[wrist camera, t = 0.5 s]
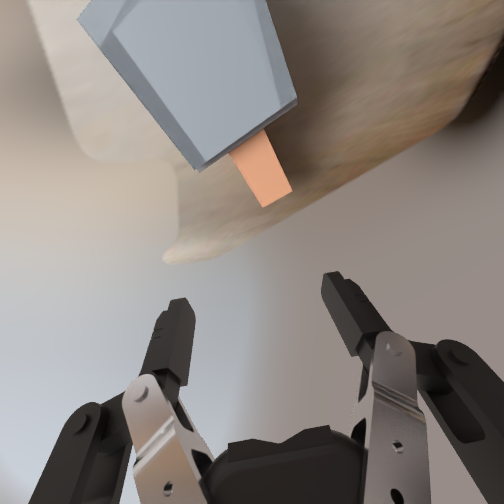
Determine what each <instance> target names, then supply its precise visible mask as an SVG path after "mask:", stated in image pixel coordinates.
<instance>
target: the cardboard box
mask: <svg viewBox="0 0 504 504" xmlns="http://www.w3.org/2000/svg"><path fill="white" fill-rule="evenodd" d="M228 153H229V154H230V155H231V157H232V159H233V160H234V162H235V164H236V165H237V167H238V168H239V170H240V172H241V173H242V175H243V176H244V178H245V180H246V181H247V183H248V185H249V186H250V188H251V189H252V191H253V193H254V194H255V196H256V197H257V199H258V201H259V202H260V204H261V205H262V207H265V206H267V205H268V204H270V203H272V202H274V201H275V200H277V199H279V198H281V197H283V196H284V195H286V194H288V193H290V192H291V191H292V189H291V187H290V185H289V183H288V180H287V178H286V176H285V174H284V172H283V170H282V167H281V165H280V163H279V161H278V159H277V157H276V154H275V152H274V150H273V148H272V146H271V144H270V141H269V139H268V137H267V135H266V133H265V131H264V128H263V129H261V130H260V131H258V132H257V133H256V134H254V135H253V136H251V137H250V138H248V139H247V140H246V141H244V142H243V143H241V144H240V145H238V146H237V147H236V148H234V149H233V150H231V151H230V152H228Z"/></svg>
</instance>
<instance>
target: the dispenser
mask: <svg viewBox="0 0 504 504" xmlns="http://www.w3.org/2000/svg"><path fill="white" fill-rule="evenodd" d="M76 20H77V21H78V22H79V23H80V25H81V26H82V27H83V28H84V30H85V31H86V32H87V34H88V35H89V36H90V37H91V39H92V40H93V41H94V42H95V44H96V45H97V46H98V48H99V49H100V50H101V51H102V53H103V54H104V55H105V57H106V58H107V59H108V60H109V62H110V63H111V64H112V65H113V67H114V68H115V69H116V71H117V72H118V73H119V74H120V76H121V77H122V78H123V79H124V81H125V82H126V83H127V85H128V86H129V87H130V88H131V90H132V91H133V92H134V93H135V95H136V96H137V97H138V99H139V100H140V101H141V102H142V104H143V105H144V106H145V108H146V109H147V110H148V111H149V113H150V114H151V115H152V116H153V118H154V119H155V120H156V122H157V123H158V124H159V125H160V127H161V128H162V129H163V130H164V132H165V133H166V134H167V136H168V137H169V138H170V139H171V141H172V142H173V143H174V145H175V146H176V147H177V148H178V150H179V151H180V152H181V153H182V155H183V156H184V157H185V159H186V160H187V161H188V162H189V164H190V165H191V166H192V167H193V169H194V170H195V169H197V170H198V172H199V173H200V172H201V171H203V170H204V169H206V168H207V167H208V166H210V165H211V164H213V163H214V162H216V161H217V160H218V159H220V158H221V157H223V156H224V155H226V154H227V153H228V152H230V151H231V150H233V149H234V148H236V147H237V146H238V145H240V144H241V143H243V142H244V141H246V140H247V139H248V138H250V137H251V136H253V135H254V134H256V133H257V132H258V131H260V130H261V129H263V128H264V127H266V126H267V125H268V124H270V123H271V122H273V121H274V120H276V119H277V118H278V117H280V116H281V115H283V114H284V113H286V112H287V111H288V110H290V109H291V108H293V107H294V106H296V105H297V104H298V101H297V95H296V92H295V89H294V86H293V83H292V80H291V77H290V74H289V71H288V68H287V64H286V61H285V58H284V55H283V52H282V49H281V46H280V43H279V40H278V37H277V34H276V31H275V27H274V24H273V21H272V18H271V15H270V12H269V9H268V6H267V3H266V0H91V1H90V3H89V4H88V5H87V6H86V8H85V9H84V10H83V12H82V13H81V14H80V16H79V17H78V18H77V19H76Z"/></svg>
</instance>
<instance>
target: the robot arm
mask: <svg viewBox="0 0 504 504" xmlns="http://www.w3.org/2000/svg"><path fill="white" fill-rule="evenodd" d="M321 295H322V298H323V301H324V303H325V305H326V307H327V309H328V311H329V313H330V315H331V317H332V319H333V321H334V323H335V325H336V327H337V329H338V331H339V333H340V335H341V337H342V339H343V341H344V343H345V345H346V346H347V349H348V351H349V353H350V355H351V356H352V357H353V356H359V357H360V359H361V361H362V363H361V369H360V376H359V383H358V389H357V396H356V402H355V406H354V409H353V412H352V417H351V422H350V428H349V435H348V436H346V435H344V434H342V433H340V432H337V431H334V430H331V429H330V426H329V425H326V426H320V427H315V428H309V429H305V430H302V431H301V432H299V433H298V434H296V435H294V436H293V437H291V438H289V439H288V440H286V441H284V442H283V443H278V444H277V443H273V442H267V441H262V440H257V439H249V440H243V441H238V442H233V443H228V449H227V450H225V451H224V452H223V453H222V454H220V455H219V456H218V457H217V458H216V459H214V457H213V455H212V453H211V452H210V450H209V448H208V446H207V444H206V443H205V441H204V440H203V438H202V437H201V436H200V435H199V433H198V432H197V430H196V428H195V426H194V424H193V422H192V421H191V419H190V417H189V415H188V413H187V411H186V409H185V407H184V405H183V403H182V401H181V400H180V398H179V396H178V395H179V388H180V387H181V386H187V384H188V376H189V368H190V361H191V353H192V346H193V338H194V330H195V322H196V320H195V314H194V311H193V309H192V308H191V306H190V304H189V302H188V300H187V299H186V298H179V299H174V300H171V301H170V304H169V307H168V310H167V311H163V312H162V313H161V315H160V316H159V318H158V319H157V321H156V324H155V327H154V332H153V334H152V337H151V340H150V343H149V346H148V350H147V353H146V356H145V359H144V363H143V366H142V369H141V372H140V374H139V376H138V377H137V378H136V379H135V380H134V381H133V382H132V383H131V384H130V385H129V386H128V388H127V389H126V391H125V392H123V393H121V394H119V395H117V396H116V397H114V398H112V399H110V400H108V401H106V402H104V403H102V404H101V405H100V404H98V403H95V402H89V403H86V404H85V405H83V406H81V407H80V408H78V409H77V410H76V411H75V412H74V413H73V414H72V415H71V416H70V417H69V419H68V420H67V422H66V423H65V425H64V427H63V429H62V431H61V433H60V435H59V437H58V439H57V442H56V444H55V446H54V448H53V450H52V453H51V455H50V457H49V459H48V461H47V464H46V466H45V468H44V470H43V472H42V475H41V477H40V479H39V482H38V484H37V486H36V488H35V490H34V492H33V494H32V497H31V499H30V501H29V503H28V504H119V502H120V497H121V493H122V489H123V485H124V480H125V476H126V471H127V466H128V463H129V458H130V453H131V450H132V445H134V448H135V451H136V456H137V458H136V462H135V463H134V466H133V475H134V480H135V484H136V487H137V491H138V495H139V499H140V502H141V504H431V491H430V475H429V459H428V443H427V427H426V419H425V416H424V414H423V412H422V411H421V410H420V409H419V407H418V403H417V390H418V391H419V393H420V394H421V396H422V397H423V399H424V401H425V402H426V404H427V406H428V407H429V409H430V410H431V412H432V414H433V415H434V417H435V418H436V420H437V422H438V423H439V425H440V427H441V428H442V430H443V432H444V433H445V435H446V436H447V438H448V440H449V441H450V443H451V444H452V446H453V448H454V449H455V451H456V453H457V454H458V456H459V457H460V459H461V460H462V462H463V464H464V466H465V467H466V469H467V470H468V472H469V474H470V475H471V477H472V478H473V480H474V482H475V483H476V485H477V487H478V488H479V490H480V491H481V493H482V495H483V496H484V498H485V500H486V501H487V503H488V504H504V382H503V381H502V380H501V379H500V378H499V377H498V376H497V375H496V373H495V372H494V371H493V370H492V369H491V368H490V367H489V366H488V365H487V364H486V363H485V362H484V361H483V360H482V359H481V357H479V356H478V354H477V353H476V352H475V351H473V350H472V349H470V348H469V347H468V346H466V345H464V344H462V343H460V342H458V341H454V340H447V339H446V340H442V341H440V342H438V343H437V344H436V345H434V344H427V343H420V342H414V341H409V340H407V339H405V338H404V337H403V336H401V335H399V334H397V333H395V332H393V331H392V330H391V329H390V328H389V326H388V325H387V324H386V322H385V321H384V320H383V318H382V317H381V316H380V314H379V313H378V312H377V310H376V309H375V307H374V306H373V305H372V303H371V302H370V301H369V299H368V298H367V296H366V295H364V292H363V291H362V290H361V288H360V287H359V286H358V285H357V284H356V283H355V282H353V281H352V280H350V279H344V278H343V277H342V275H341V274H340V272H338V271H336V272H330V273H325V274H324V275H323V281H322V288H321ZM395 450H397V452H396V451H395ZM171 491H172V493H171Z"/></svg>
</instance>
